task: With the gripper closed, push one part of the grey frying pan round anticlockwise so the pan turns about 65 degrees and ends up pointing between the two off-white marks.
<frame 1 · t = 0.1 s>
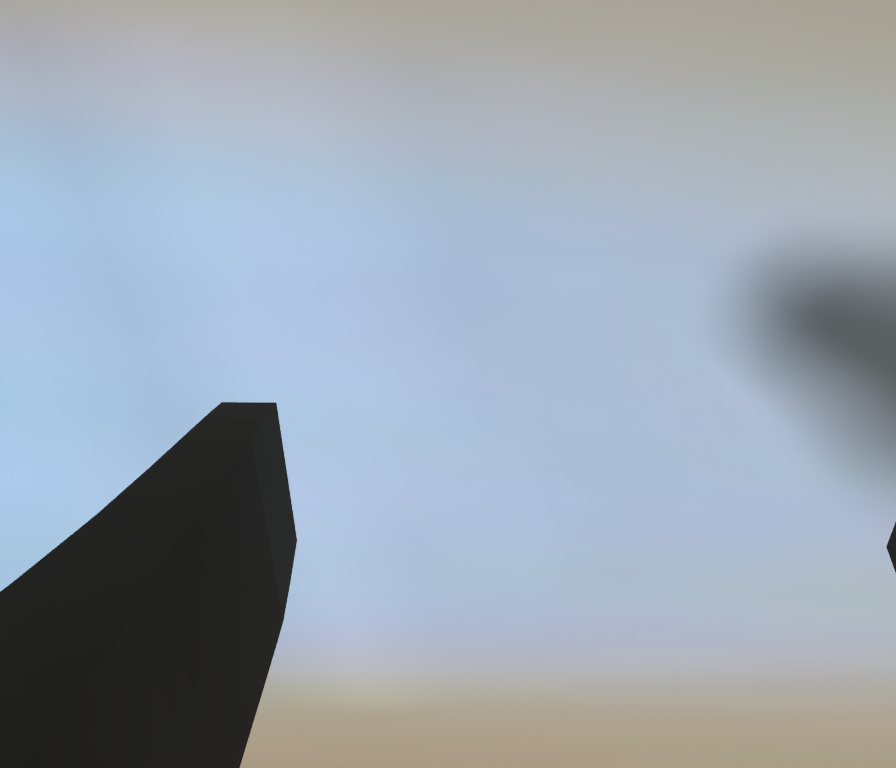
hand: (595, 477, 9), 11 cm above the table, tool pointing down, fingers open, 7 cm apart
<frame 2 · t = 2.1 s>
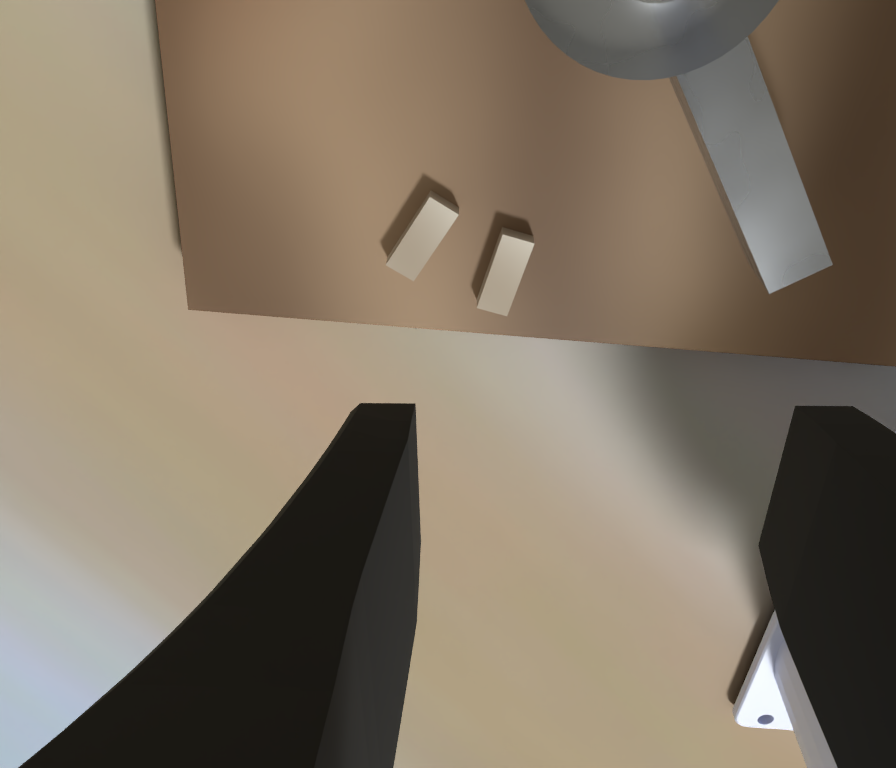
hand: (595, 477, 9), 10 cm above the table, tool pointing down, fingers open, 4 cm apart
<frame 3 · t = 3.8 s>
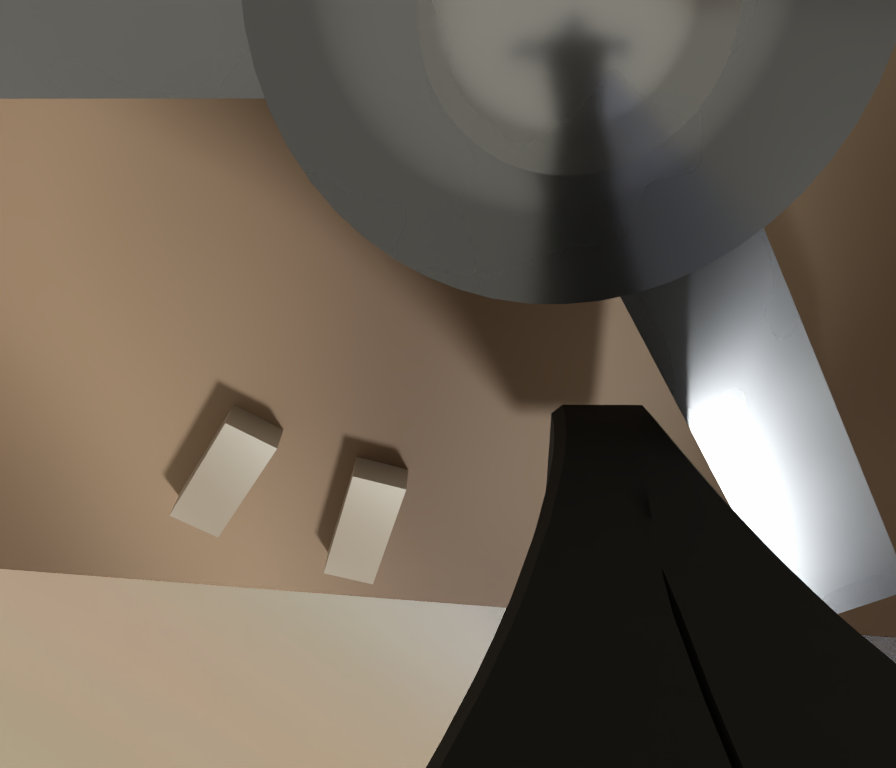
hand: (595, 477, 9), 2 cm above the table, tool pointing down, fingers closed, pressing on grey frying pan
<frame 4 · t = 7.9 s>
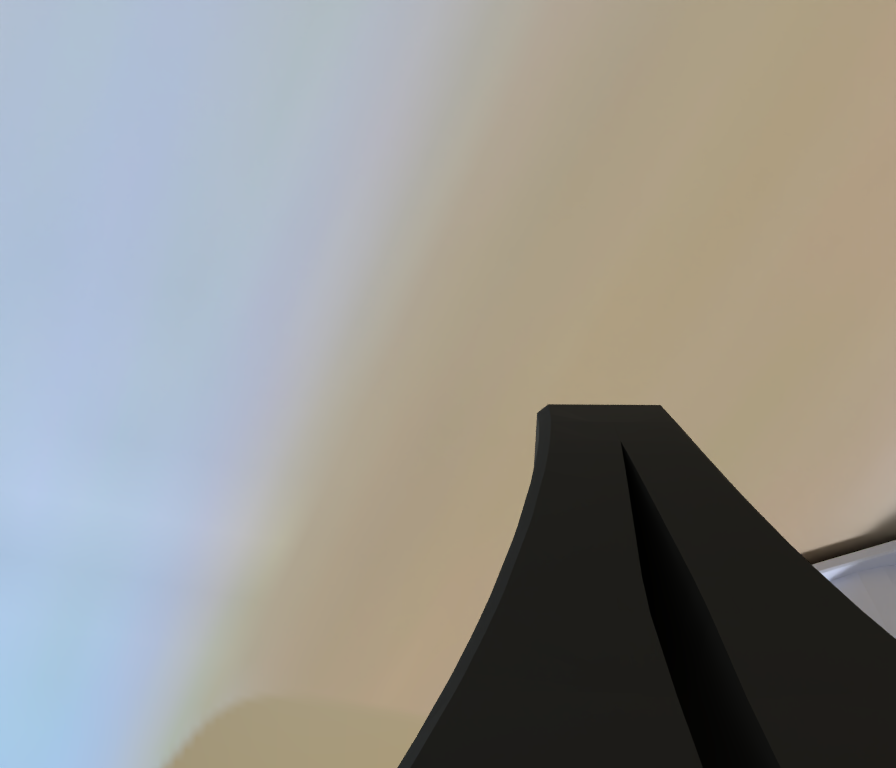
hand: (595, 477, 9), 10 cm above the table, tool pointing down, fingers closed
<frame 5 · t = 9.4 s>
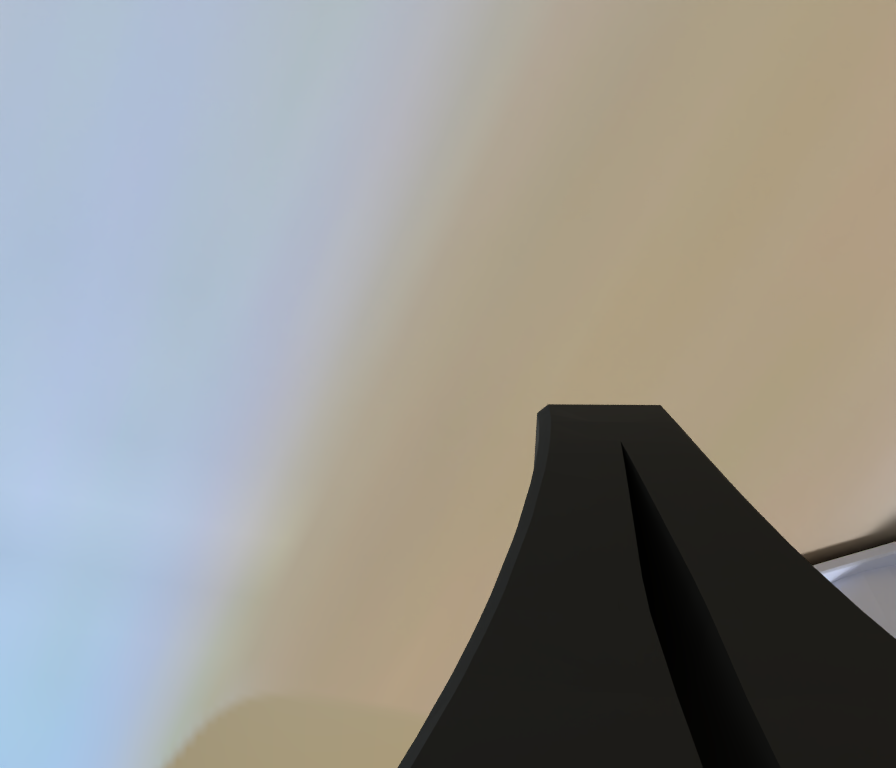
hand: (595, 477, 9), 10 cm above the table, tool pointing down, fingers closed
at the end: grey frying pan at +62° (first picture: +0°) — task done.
